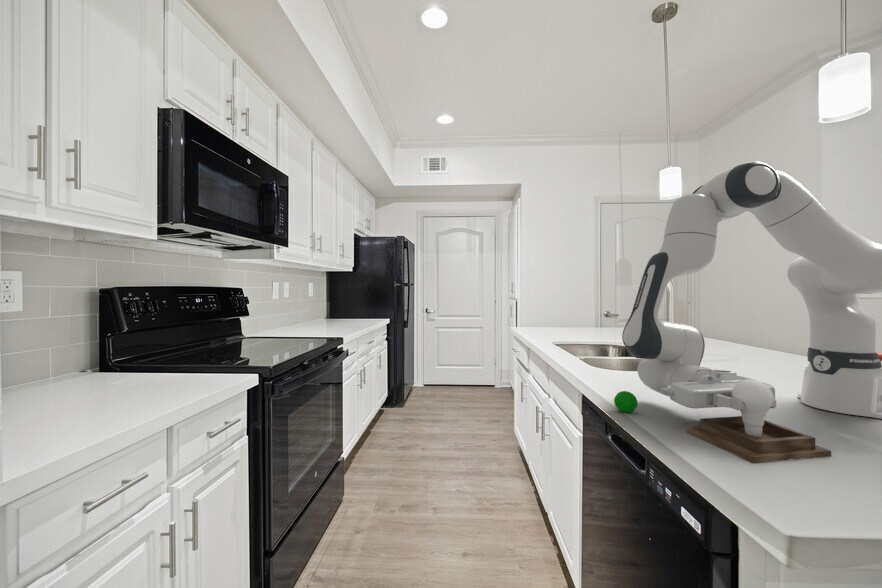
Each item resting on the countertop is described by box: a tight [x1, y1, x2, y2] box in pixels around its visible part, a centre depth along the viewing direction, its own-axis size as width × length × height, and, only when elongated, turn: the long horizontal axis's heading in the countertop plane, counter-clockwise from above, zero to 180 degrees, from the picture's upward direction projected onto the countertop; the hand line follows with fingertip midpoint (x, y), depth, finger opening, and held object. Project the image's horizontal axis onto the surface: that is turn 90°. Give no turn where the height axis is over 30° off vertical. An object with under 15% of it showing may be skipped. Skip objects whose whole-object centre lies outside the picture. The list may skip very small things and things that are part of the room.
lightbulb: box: [732, 379, 774, 439], centre depth 73 cm, size 6×6×11 cm
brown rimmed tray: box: [686, 415, 832, 464], centre depth 73 cm, size 16×14×3 cm
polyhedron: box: [613, 390, 638, 414], centre depth 91 cm, size 5×5×5 cm
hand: (758, 405), depth 72 cm, fingers closed on lightbulb, 5 cm apart
